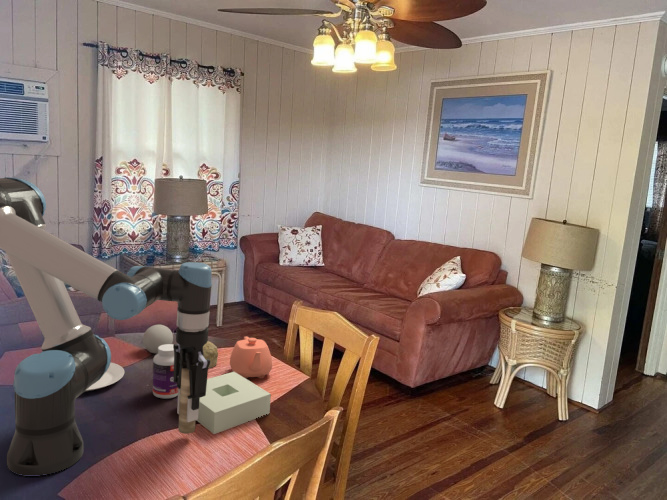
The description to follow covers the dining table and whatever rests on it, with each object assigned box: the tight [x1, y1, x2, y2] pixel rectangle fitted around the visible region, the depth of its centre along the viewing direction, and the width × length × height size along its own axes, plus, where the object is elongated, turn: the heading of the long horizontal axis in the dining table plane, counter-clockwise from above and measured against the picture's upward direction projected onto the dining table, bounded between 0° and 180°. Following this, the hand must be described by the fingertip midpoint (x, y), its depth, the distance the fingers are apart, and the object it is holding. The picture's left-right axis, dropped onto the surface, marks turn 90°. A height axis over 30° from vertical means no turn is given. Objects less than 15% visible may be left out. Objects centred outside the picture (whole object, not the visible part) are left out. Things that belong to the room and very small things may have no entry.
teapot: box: [229, 335, 273, 380], centre depth 167 cm, size 13×20×12 cm, turn 22°
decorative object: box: [193, 340, 219, 369], centre depth 173 cm, size 9×10×10 cm
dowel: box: [178, 367, 196, 435], centre depth 127 cm, size 4×4×16 cm
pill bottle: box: [152, 343, 178, 400], centre depth 150 cm, size 8×8×14 cm
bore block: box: [195, 371, 272, 435], centre depth 144 cm, size 18×18×6 cm
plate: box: [84, 361, 125, 392], centre depth 155 cm, size 21×21×2 cm
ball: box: [142, 324, 174, 355], centre depth 179 cm, size 10×10×10 cm
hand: (187, 415), depth 128 cm, fingers closed on dowel, 4 cm apart
